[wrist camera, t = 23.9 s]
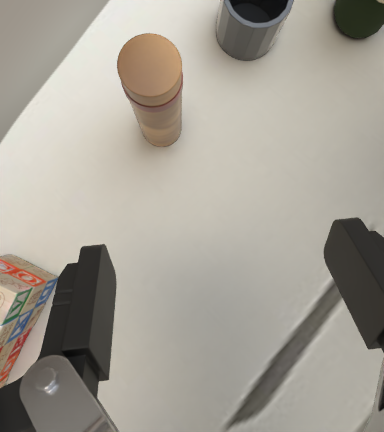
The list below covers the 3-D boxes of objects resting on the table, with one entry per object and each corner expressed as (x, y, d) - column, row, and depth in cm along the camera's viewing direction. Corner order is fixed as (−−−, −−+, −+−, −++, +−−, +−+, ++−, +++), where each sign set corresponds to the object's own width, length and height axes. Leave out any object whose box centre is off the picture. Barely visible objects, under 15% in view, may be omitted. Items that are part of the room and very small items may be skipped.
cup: (258, -8, 39) (274, -54, 33) (285, 45, 39) (306, 9, 32) (205, 17, 39) (210, -25, 32) (232, 70, 39) (242, 39, 32)
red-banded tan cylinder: (171, 100, 38) (164, 21, 23) (189, 136, 38) (194, 80, 23) (134, 117, 38) (104, 49, 23) (152, 154, 38) (134, 109, 23)
